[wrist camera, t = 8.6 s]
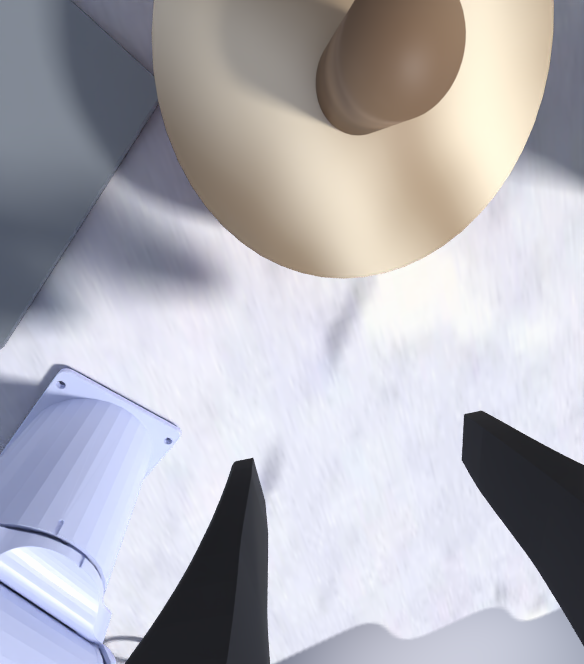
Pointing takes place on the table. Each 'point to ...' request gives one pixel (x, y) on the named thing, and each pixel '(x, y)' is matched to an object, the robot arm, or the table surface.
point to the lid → (349, 119)
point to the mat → (57, 136)
